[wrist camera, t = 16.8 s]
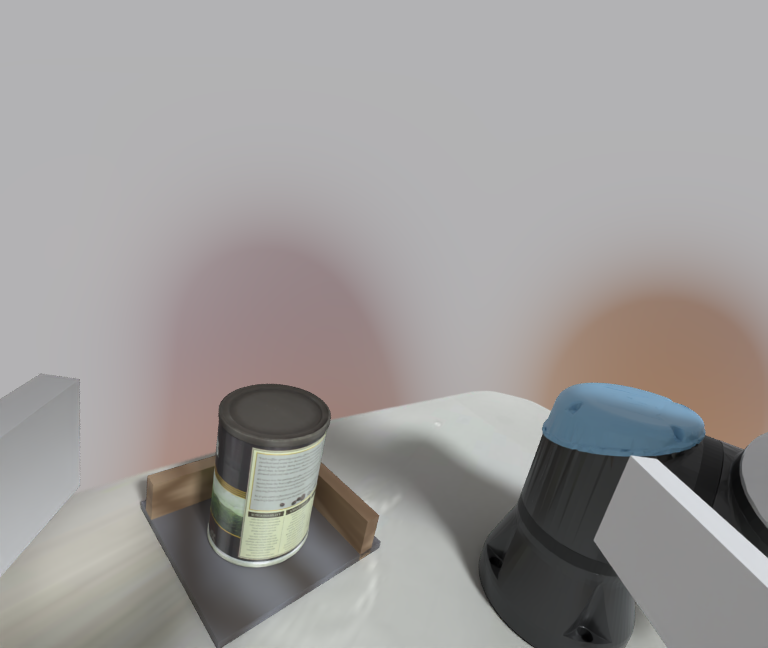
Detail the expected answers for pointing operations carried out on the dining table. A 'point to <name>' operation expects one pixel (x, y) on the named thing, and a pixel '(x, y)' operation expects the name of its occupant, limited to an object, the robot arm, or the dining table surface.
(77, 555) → the dining table surface
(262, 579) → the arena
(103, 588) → the dining table surface
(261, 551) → the coffee can
